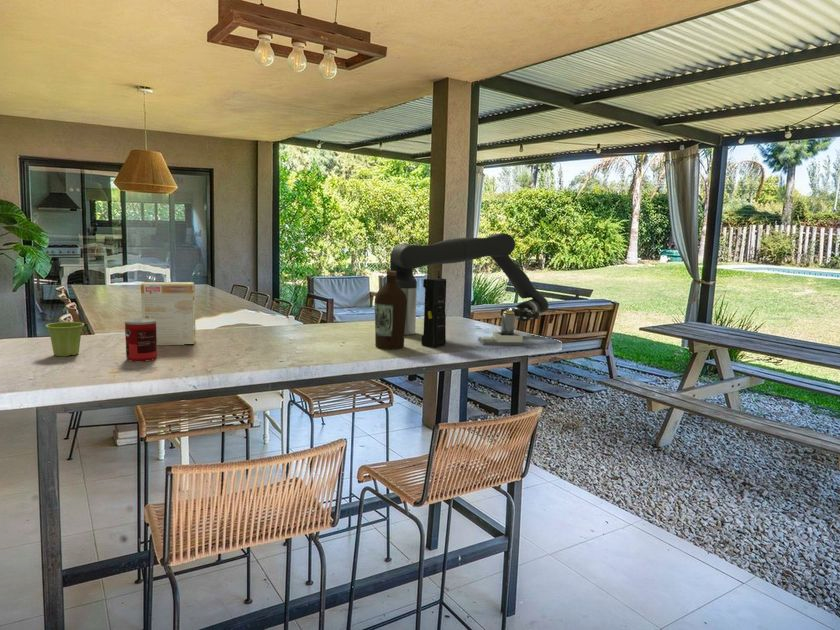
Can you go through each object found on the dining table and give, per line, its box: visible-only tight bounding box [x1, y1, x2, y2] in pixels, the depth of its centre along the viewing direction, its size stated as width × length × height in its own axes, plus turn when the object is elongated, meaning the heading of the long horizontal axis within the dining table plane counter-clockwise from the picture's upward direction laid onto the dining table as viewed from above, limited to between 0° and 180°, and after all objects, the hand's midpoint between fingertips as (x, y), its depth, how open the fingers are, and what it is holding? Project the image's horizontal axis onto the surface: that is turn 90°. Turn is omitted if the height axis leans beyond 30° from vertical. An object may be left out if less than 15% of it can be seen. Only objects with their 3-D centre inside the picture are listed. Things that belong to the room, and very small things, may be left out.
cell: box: [500, 309, 516, 336], centre depth 209 cm, size 4×4×11 cm
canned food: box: [124, 317, 158, 362], centre depth 165 cm, size 8×8×11 cm
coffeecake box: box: [140, 281, 197, 346], centre depth 187 cm, size 15×7×20 cm, turn 105°
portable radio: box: [420, 270, 447, 348], centre depth 198 cm, size 8×6×25 cm
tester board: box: [477, 331, 524, 346], centre depth 209 cm, size 14×9×3 cm, turn 97°
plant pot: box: [45, 321, 85, 357], centre depth 167 cm, size 9×9×9 cm
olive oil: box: [374, 270, 407, 350], centre depth 193 cm, size 11×11×25 cm
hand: (515, 315), depth 218 cm, fingers open, 8 cm apart
